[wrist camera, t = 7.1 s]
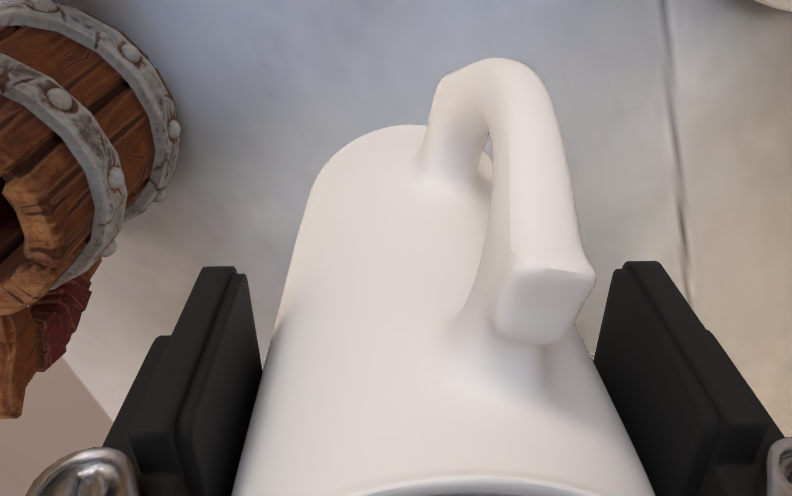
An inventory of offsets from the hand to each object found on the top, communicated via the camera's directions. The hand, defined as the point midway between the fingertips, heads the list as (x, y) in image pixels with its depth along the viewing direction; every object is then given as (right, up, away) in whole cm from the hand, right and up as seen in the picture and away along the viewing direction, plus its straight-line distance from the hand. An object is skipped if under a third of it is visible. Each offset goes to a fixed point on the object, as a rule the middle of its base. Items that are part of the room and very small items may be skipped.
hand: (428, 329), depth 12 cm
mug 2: (0, +4, +6) cm, 7 cm away
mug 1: (-17, +7, +21) cm, 28 cm away
